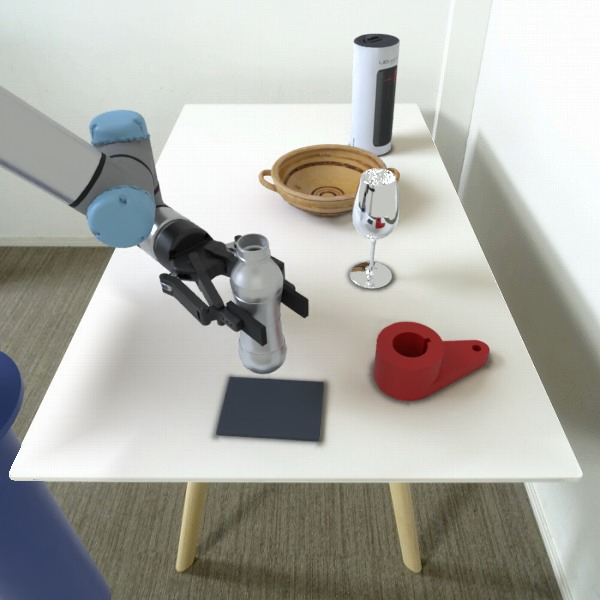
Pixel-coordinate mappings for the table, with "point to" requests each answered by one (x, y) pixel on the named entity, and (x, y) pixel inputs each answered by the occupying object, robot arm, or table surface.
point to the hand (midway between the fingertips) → (285, 322)
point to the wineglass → (374, 222)
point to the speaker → (374, 91)
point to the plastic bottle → (259, 303)
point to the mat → (272, 409)
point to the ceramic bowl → (322, 177)
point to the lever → (422, 360)
